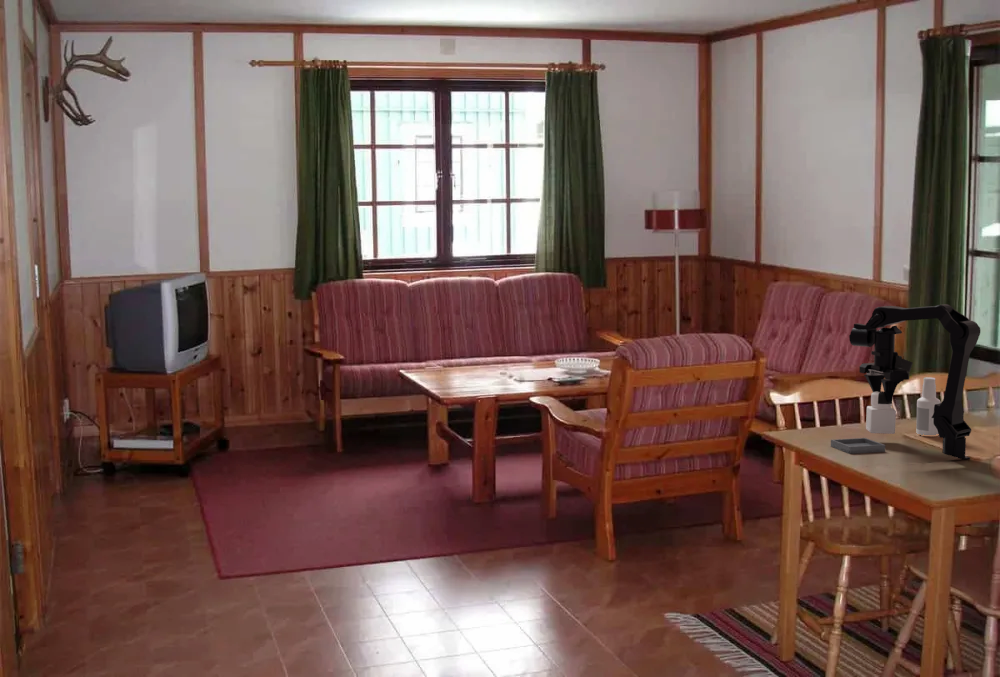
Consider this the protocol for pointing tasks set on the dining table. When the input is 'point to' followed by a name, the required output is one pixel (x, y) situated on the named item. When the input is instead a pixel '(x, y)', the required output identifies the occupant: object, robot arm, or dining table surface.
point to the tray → (857, 445)
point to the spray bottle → (927, 408)
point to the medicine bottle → (880, 415)
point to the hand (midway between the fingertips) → (883, 400)
